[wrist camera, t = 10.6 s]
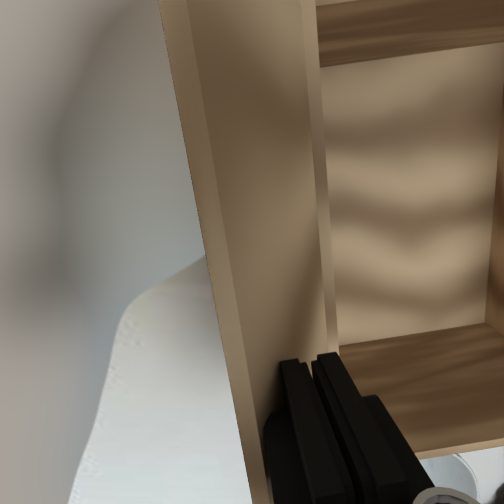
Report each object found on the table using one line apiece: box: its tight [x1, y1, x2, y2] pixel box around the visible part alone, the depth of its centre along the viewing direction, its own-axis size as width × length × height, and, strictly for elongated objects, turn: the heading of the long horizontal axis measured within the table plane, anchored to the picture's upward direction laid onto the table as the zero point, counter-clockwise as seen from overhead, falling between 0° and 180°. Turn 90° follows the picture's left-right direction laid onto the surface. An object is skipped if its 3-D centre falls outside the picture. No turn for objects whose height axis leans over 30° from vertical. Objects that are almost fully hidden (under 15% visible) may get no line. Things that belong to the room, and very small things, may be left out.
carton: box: [299, 0, 504, 460], centre depth 22 cm, size 24×18×12 cm
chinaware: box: [419, 454, 479, 502], centre depth 31 cm, size 15×15×8 cm
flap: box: [158, 0, 328, 504], centre depth 12 cm, size 23×9×1 cm
